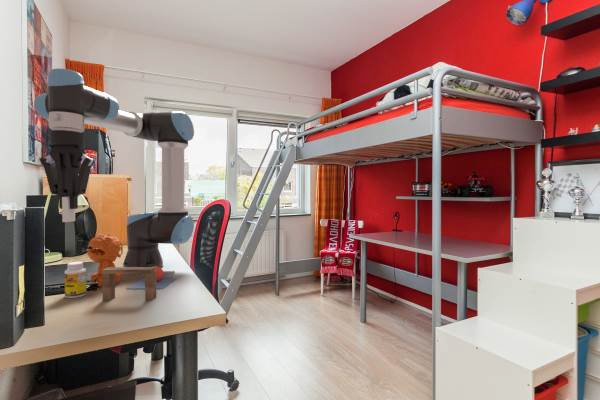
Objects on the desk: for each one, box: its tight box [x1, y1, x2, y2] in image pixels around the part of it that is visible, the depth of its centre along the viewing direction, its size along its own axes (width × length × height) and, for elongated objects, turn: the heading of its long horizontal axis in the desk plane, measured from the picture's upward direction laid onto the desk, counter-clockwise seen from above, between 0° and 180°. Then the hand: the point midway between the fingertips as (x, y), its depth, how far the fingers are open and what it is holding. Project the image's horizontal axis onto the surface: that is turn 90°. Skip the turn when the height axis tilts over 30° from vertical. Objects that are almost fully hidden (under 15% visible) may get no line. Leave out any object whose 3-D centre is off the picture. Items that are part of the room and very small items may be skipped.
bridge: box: [101, 266, 157, 302], centre depth 96 cm, size 3×14×9 cm, turn 91°
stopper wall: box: [162, 270, 176, 278], centre depth 119 cm, size 2×10×2 cm, turn 91°
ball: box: [154, 266, 164, 282], centre depth 114 cm, size 6×6×6 cm
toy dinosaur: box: [85, 233, 124, 288], centre depth 111 cm, size 11×11×18 cm
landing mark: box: [125, 277, 177, 290], centre depth 112 cm, size 12×12×1 cm
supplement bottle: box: [64, 261, 88, 299], centre depth 99 cm, size 6×6×10 cm
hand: (68, 221), depth 85 cm, fingers closed
